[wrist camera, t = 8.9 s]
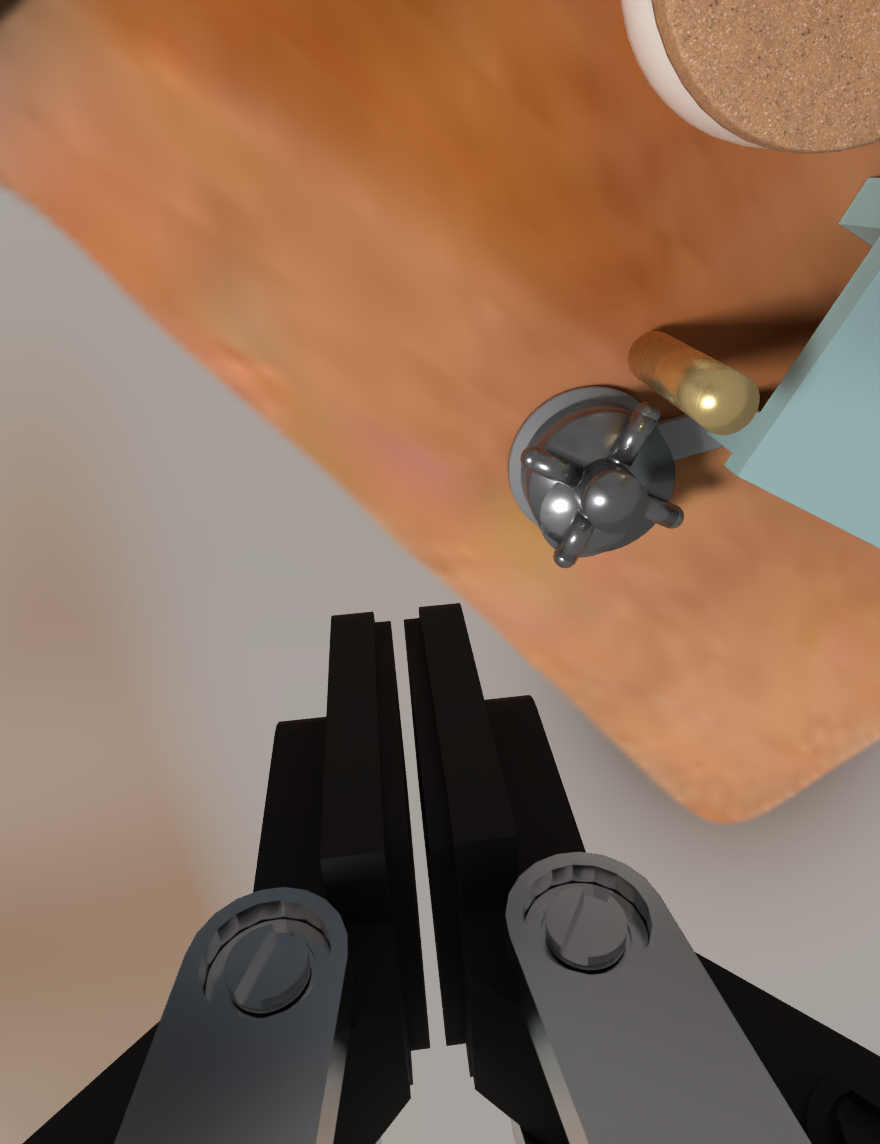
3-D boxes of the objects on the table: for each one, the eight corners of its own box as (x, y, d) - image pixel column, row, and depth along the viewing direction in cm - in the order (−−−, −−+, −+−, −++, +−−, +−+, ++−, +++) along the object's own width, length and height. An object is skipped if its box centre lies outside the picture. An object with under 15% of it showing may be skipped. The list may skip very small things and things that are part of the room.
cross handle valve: (584, 292, 30) (646, 326, 23) (741, 371, 32) (838, 422, 25) (472, 514, 34) (500, 595, 27) (619, 571, 36) (677, 658, 29)
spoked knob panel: (480, 499, 34) (499, 548, 30) (724, 57, 27) (796, 36, 23) (840, 657, 40) (900, 718, 36) (1114, 330, 33) (1229, 355, 29)
